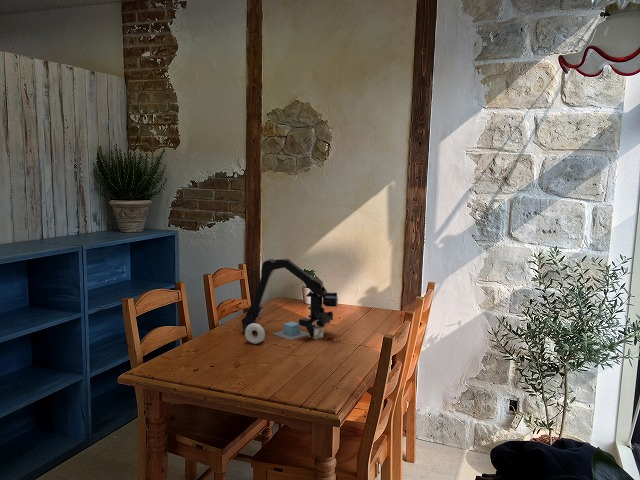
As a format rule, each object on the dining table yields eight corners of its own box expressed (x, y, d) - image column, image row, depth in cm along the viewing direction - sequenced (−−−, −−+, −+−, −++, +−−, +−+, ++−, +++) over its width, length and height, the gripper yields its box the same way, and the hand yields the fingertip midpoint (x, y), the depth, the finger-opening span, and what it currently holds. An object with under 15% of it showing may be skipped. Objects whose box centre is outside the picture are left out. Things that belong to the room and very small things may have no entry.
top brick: (315, 341, 254) (316, 329, 253) (308, 338, 257) (308, 327, 256) (322, 339, 257) (323, 327, 257) (315, 336, 261) (315, 325, 260)
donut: (243, 343, 249) (243, 323, 248) (246, 341, 252) (246, 321, 251) (263, 345, 246) (263, 325, 245) (266, 343, 249) (266, 323, 248)
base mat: (290, 342, 252) (290, 340, 252) (271, 335, 262) (271, 333, 262) (311, 335, 262) (311, 333, 262) (292, 329, 272) (292, 327, 272)
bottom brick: (291, 336, 258) (291, 326, 257) (283, 333, 262) (283, 323, 261) (300, 333, 262) (300, 324, 261) (292, 331, 266) (292, 321, 265)
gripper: (314, 312, 243) (314, 344, 245) (341, 305, 256) (340, 336, 258) (298, 307, 250) (297, 339, 253) (324, 301, 264) (324, 331, 266)
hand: (315, 336), depth 257 cm, fingers closed on top brick, 5 cm apart
